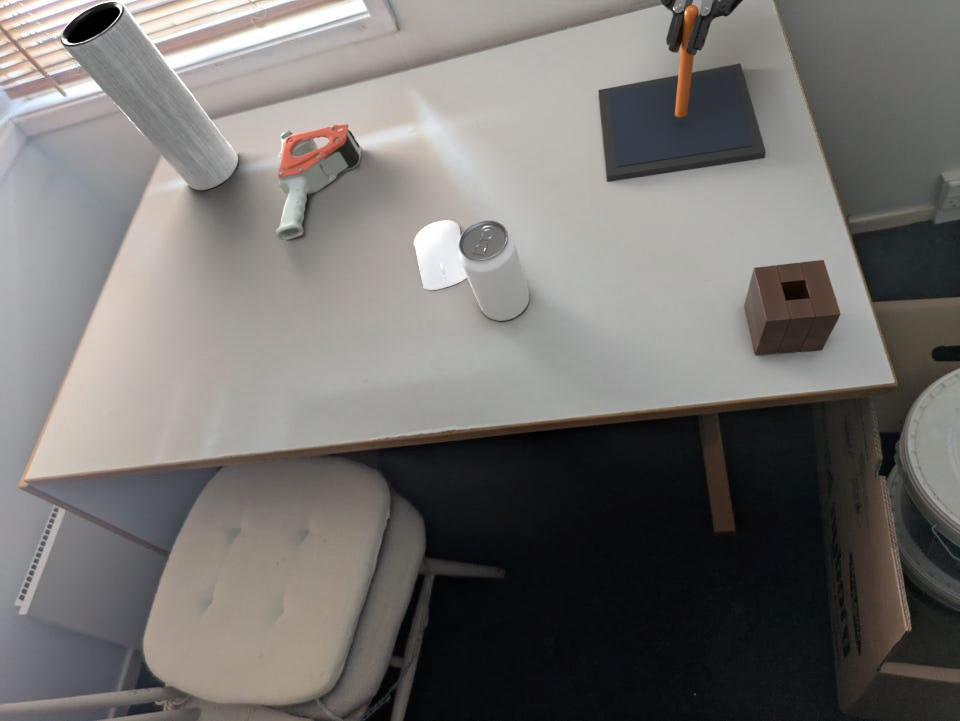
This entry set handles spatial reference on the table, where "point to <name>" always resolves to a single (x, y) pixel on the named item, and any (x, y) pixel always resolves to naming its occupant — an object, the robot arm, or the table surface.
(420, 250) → the computer mouse
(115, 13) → the vase
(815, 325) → the pen holder
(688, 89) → the stylus
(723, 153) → the tablet
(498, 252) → the can
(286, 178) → the tape dispenser
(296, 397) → the table surface
